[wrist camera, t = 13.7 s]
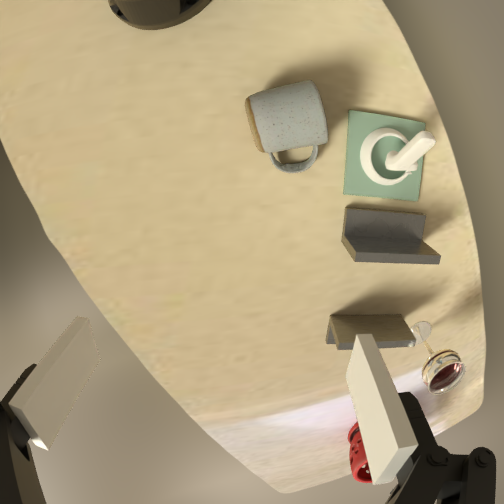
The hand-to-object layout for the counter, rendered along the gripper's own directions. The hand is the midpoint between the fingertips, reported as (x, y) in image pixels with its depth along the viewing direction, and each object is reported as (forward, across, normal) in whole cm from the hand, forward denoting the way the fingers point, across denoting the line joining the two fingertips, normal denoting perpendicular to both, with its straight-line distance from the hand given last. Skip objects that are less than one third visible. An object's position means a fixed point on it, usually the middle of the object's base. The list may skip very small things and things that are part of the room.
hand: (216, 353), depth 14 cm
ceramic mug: (+29, +5, +10) cm, 31 cm away
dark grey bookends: (+29, +19, -10) cm, 36 cm away
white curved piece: (+28, +18, +8) cm, 35 cm away
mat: (+29, +18, +8) cm, 35 cm away
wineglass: (+29, +30, -20) cm, 46 cm away
